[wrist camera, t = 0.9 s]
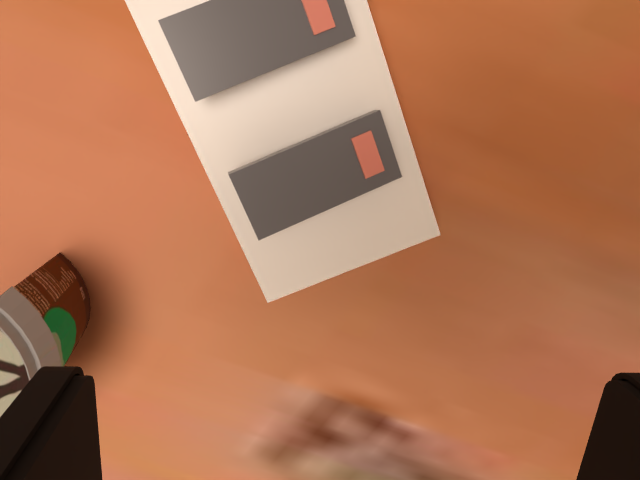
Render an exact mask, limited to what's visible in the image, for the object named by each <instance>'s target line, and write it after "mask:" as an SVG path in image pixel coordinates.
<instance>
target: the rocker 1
mask: <svg viewBox="0 0 640 480" xmlns="http://www.w3.org/2000/svg"><path fill="white" fill-rule="evenodd" d="M158 22H159V24H160V26H161V28H162V30H163V33H164V35H165V37H166V39H167V41H168V44H169V46H170V48H171V50H172V52H173V54H174V57H175V59H176V61H177V63H178V65H179V68H180V70H181V72H182V74H183V76H184V79H185V81H186V83H187V85H188V87H189V89H190V92H191V94H192V96H193V98H194V100H195V102H197V101H199V100H202V99H204V98H207V97H209V96H211V95H214V94H216V93H219V92H221V91H224V90H226V89H229V88H231V87H234V86H236V85H238V84H241V83H243V82H246V81H248V80H251V79H253V78H256V77H258V76H261V75H263V74H266V73H268V72H270V71H273V70H275V69H278V68H280V67H283V66H285V65H288V64H290V63H293V62H295V61H297V60H300V59H302V58H305V57H307V56H310V55H312V54H315V53H317V52H320V51H322V50H324V49H327V48H329V47H332V46H334V45H337V44H339V43H342V42H344V41H347V40H349V39H351V38H353V37H355V36H356V35H355V32H354V29H353V26H352V23H351V20H350V17H349V14H348V11H347V8H346V5H345V2H344V0H209V1H207V2H204V3H202V4H199V5H196V6H194V7H191V8H189V9H186V10H183V11H181V12H178V13H176V14H173V15H170V16H168V17H165V18H163V19H160V20H158Z"/></svg>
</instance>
